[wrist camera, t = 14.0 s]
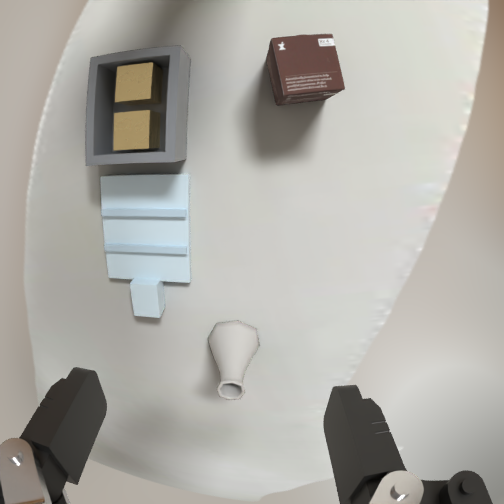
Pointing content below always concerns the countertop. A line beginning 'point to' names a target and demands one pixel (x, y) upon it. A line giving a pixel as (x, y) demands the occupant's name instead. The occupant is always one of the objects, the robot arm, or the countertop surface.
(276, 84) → the box
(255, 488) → the countertop surface
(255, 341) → the flask
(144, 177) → the lid
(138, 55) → the tub
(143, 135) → the brass block
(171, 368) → the countertop surface
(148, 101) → the brass block
